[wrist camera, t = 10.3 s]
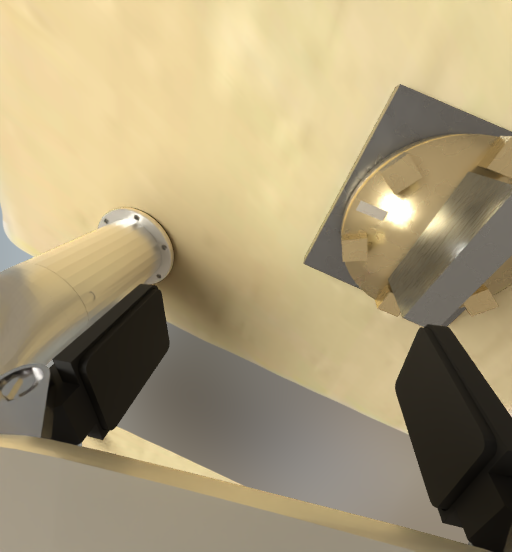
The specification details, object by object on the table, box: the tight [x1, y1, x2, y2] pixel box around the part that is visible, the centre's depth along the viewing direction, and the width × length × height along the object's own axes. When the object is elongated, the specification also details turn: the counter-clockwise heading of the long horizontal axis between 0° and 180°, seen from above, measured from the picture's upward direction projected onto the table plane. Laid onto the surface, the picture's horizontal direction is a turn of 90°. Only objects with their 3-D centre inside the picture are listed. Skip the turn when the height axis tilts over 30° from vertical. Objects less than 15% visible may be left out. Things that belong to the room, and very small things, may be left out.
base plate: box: [303, 84, 512, 327], centre depth 29 cm, size 20×20×2 cm
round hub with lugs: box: [341, 134, 512, 327], centre depth 24 cm, size 18×18×10 cm
